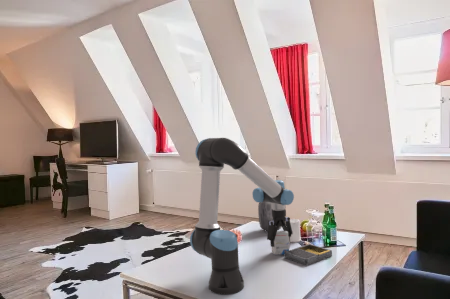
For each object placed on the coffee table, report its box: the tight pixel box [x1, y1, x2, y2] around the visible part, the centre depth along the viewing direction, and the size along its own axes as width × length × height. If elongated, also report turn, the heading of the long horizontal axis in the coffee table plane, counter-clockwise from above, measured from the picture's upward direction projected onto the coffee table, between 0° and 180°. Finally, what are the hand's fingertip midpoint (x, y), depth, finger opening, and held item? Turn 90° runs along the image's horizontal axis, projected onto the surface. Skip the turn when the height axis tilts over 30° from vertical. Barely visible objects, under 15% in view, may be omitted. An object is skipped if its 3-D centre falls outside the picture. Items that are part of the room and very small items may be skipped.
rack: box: [284, 243, 333, 266], centre depth 178 cm, size 19×15×3 cm
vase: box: [257, 202, 282, 232], centre depth 230 cm, size 16×16×30 cm
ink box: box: [272, 230, 290, 256], centre depth 186 cm, size 9×5×12 cm, turn 84°
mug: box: [285, 218, 302, 243], centre depth 209 cm, size 12×8×12 cm
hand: (280, 250), depth 186 cm, fingers closed on ink box, 9 cm apart
